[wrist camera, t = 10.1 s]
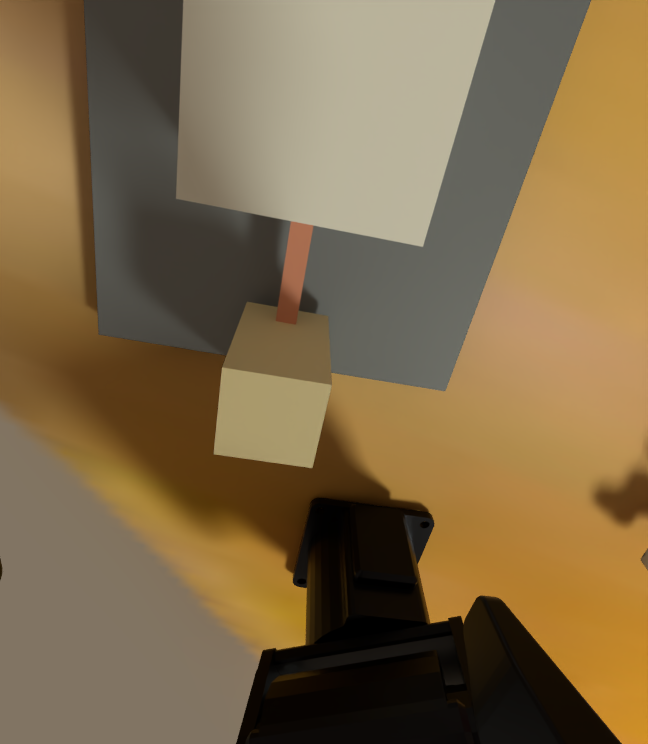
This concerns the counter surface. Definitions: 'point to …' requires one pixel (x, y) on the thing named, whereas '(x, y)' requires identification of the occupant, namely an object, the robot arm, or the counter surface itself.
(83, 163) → the counter surface
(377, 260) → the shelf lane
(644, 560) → the word lettering
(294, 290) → the rod-linked cube pair
